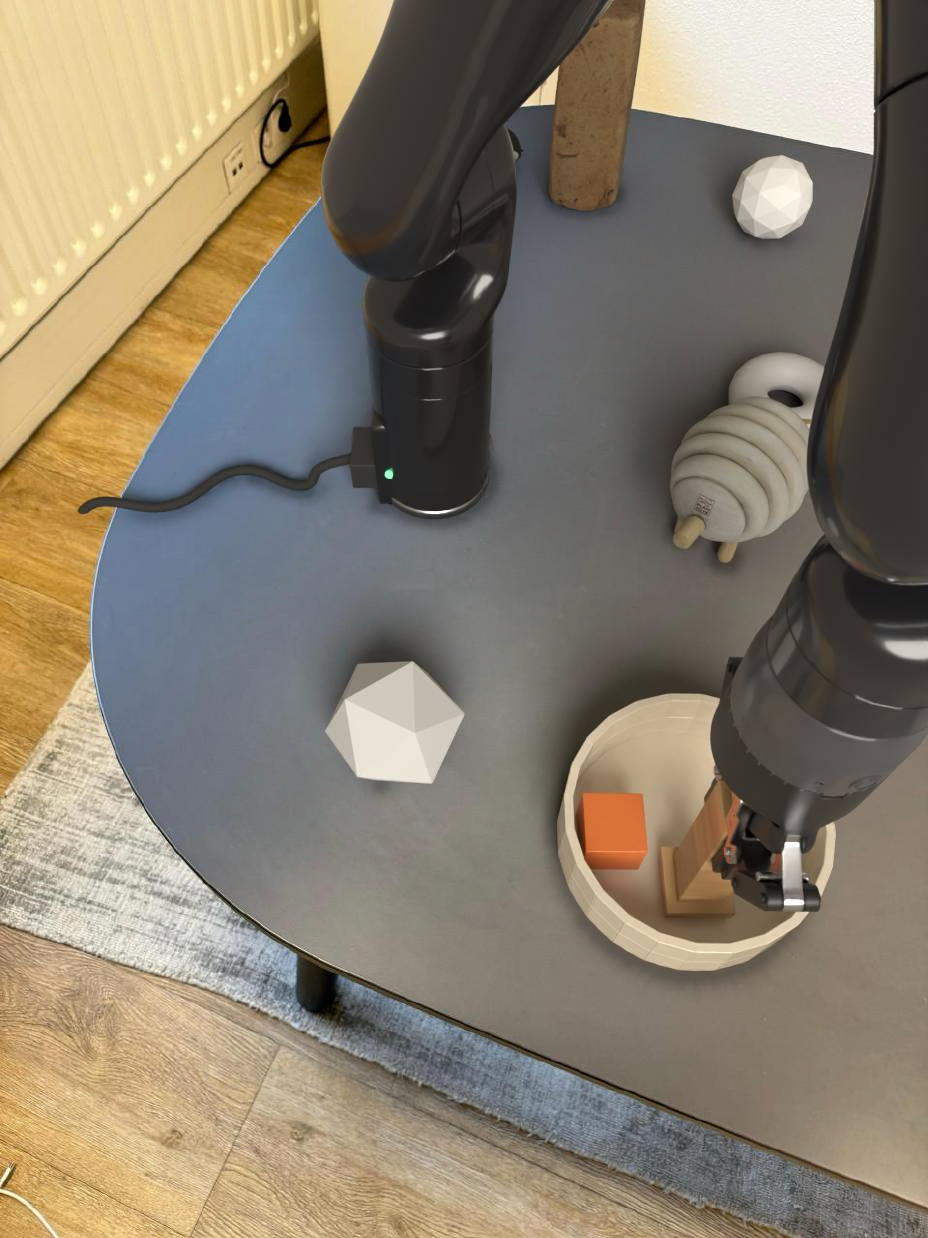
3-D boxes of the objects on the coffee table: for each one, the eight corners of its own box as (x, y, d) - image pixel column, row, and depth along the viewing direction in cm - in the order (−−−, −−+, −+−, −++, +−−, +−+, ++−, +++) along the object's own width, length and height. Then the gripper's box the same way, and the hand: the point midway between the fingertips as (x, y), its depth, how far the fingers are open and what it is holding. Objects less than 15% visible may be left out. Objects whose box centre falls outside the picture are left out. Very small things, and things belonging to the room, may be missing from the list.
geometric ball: (765, 241, 103) (822, 176, 99) (776, 266, 97) (838, 198, 93) (711, 197, 101) (767, 129, 97) (720, 220, 95) (780, 148, 91)
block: (612, 222, 101) (643, 22, 83) (541, 211, 101) (558, 11, 84) (626, 159, 106) (659, -41, 89) (559, 149, 107) (578, -51, 90)
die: (424, 674, 75) (333, 625, 68) (506, 708, 68) (416, 658, 61) (375, 775, 74) (279, 737, 66) (454, 819, 67) (356, 782, 60)
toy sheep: (819, 482, 83) (865, 390, 74) (734, 623, 76) (773, 541, 67) (708, 430, 86) (739, 335, 77) (616, 561, 79) (638, 474, 70)
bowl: (561, 970, 63) (570, 951, 58) (552, 727, 72) (559, 691, 66) (826, 974, 63) (859, 955, 58) (785, 730, 72) (810, 694, 66)
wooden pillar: (664, 917, 63) (713, 846, 50) (657, 851, 66) (703, 767, 53) (731, 918, 63) (798, 847, 50) (723, 852, 66) (785, 767, 53)
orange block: (579, 869, 66) (585, 851, 62) (576, 812, 68) (582, 792, 64) (638, 870, 66) (648, 852, 62) (633, 813, 68) (642, 793, 64)
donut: (847, 453, 85) (822, 369, 90) (861, 428, 82) (835, 341, 87) (734, 456, 85) (715, 371, 90) (744, 430, 82) (724, 344, 87)
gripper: (712, 567, 44) (649, 724, 59) (756, 871, 37) (672, 963, 52) (876, 568, 44) (772, 725, 59) (951, 873, 37) (811, 964, 52)
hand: (726, 836), depth 56 cm, fingers closed on wooden pillar, 3 cm apart
